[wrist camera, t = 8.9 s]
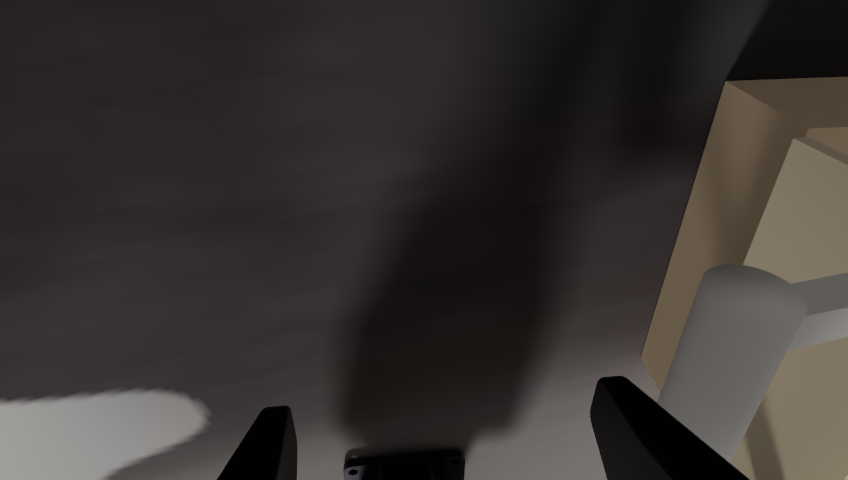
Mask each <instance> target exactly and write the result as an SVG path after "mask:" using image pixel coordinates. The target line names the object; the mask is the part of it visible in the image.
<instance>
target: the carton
mask: <svg viewBox="0 0 848 480" xmlns="http://www.w3.org/2000/svg"><path fill="white" fill-rule="evenodd" d="M799 137H809V138H811V139H813V140H816V141H818V142H820V143H822V144H824V145H826V146H828V147H830V148H832V149H834V150H836V151H839V152H841V153H843V154H845V155H847V156H848V77H825V78H798V79H771V80H743V81H725V84H724V87H723V90H722V94H721V97H720V100H719V103H718V107H717V110H716V113H715V116H714V120H713V123H712V126H711V129H710V133H709V136H708V139H707V142H706V146H705V149H704V152H703V155H702V159H701V162H700V165H699V168H698V172H697V175H696V178H695V181H694V185H693V188H692V191H691V195H690V198H689V201H688V204H687V208H686V211H685V214H684V217H683V221H682V224H681V227H680V230H679V234H678V237H677V240H676V243H675V247H674V250H673V253H672V256H671V260H670V263H669V266H668V269H667V273H666V276H665V279H664V282H663V286H662V289H661V292H660V295H659V299H658V302H657V305H656V308H655V312H654V315H653V318H652V321H651V325H650V328H649V331H648V334H647V338H646V341H645V344H644V348H643V351H642V354H641V359H642V361H643V362H644V364H645V366H646V367H647V369H648V371H649V373H650V374H651V376H652V378H653V379H654V381H655V383H656V384H657V386H658V388H659V389H660V391H661V392H662V389H663V386H664V383H665V381H666V378H667V375H668V372H669V369H670V366H671V364H672V361H673V358H674V355H675V352H676V349H677V347H678V344H679V341H680V338H681V335H682V332H683V330H684V327H685V324H686V321H687V318H688V316H689V313H690V310H691V307H692V304H693V301H694V299H695V296H696V293H697V290H698V287H699V284H700V282H701V279H702V276H703V274H704V273H705V272H706V271H707V270H708V269H710V268H712V267H715V266H719V265H726V264H736V265H743V263H744V261H745V258H746V256H747V253H748V251H749V248H750V246H751V243H752V241H753V238H754V236H755V233H756V231H757V228H758V226H759V223H760V221H761V218H762V216H763V213H764V211H765V208H766V206H767V203H768V201H769V198H770V196H771V193H772V191H773V188H774V186H775V183H776V181H777V178H778V176H779V173H780V171H781V168H782V166H783V163H784V161H785V158H786V156H787V153H788V151H789V148H790V145H791V143H792V140H793V138H799Z"/></svg>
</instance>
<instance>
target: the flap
mask: <svg viewBox="0 0 848 480" xmlns="http://www.w3.org/2000/svg"><path fill="white" fill-rule="evenodd" d="M658 404H659V405H660V406H661V407H663V408H664V409H665V410H666V411H667V412H669V413H670V414H671V415H672V416H673V417H675V418H676V419H677V420H678V421H680V422H681V423H682V424H683V425H684V426H686V427H687V428H688V429H689V430H690V431H692V432H693V433H694V434H695V435H697V436H698V437H699V438H700V439H701V440H703V441H704V442H705V443H706V444H707V445H709V446H710V447H711V448H712V449H714V450H715V451H716V452H717V453H718V454H720V455H721V456H722V457H723V458H724V459H726V460H727V461H728V462H729V463H731V464H732V465H733V466H734V467H735V468H737V469H738V470H739V471H740V472H741V473H743V474H744V475H745V476H746V477H748V478H749V479H750V480H848V156H847V155H845V154H843V153H841V152H839V151H836V150H834V149H832V148H830V147H828V146H826V145H824V144H822V143H820V142H818V141H816V140H813V139H811V138H809V137H799V138H793V140H792V143H791V145H790V148H789V151H788V153H787V156H786V158H785V161H784V163H783V166H782V168H781V171H780V173H779V176H778V178H777V181H776V183H775V186H774V188H773V191H772V193H771V196H770V198H769V201H768V203H767V206H766V208H765V211H764V213H763V216H762V218H761V221H760V223H759V226H758V228H757V231H756V233H755V236H754V238H753V241H752V243H751V246H750V248H749V251H748V253H747V256H746V258H745V261H744V263H743V265H736V264H726V265H719V266H715V267H712V268H710V269H708V270H707V271H706V272H705V273H704V274H703V276H702V279H701V282H700V284H699V287H698V290H697V293H696V296H695V299H694V301H693V304H692V307H691V310H690V313H689V316H688V318H687V321H686V324H685V327H684V330H683V332H682V335H681V338H680V341H679V344H678V347H677V349H676V352H675V355H674V358H673V361H672V364H671V366H670V369H669V372H668V375H667V378H666V381H665V383H664V386H663V389H662V392H661V395H660V397H659V400H658Z"/></svg>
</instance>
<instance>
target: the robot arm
mask: <svg viewBox="0 0 848 480" xmlns="http://www.w3.org/2000/svg"><path fill="white" fill-rule="evenodd" d="M590 417H591V423H592V427H593V430H594V434H595V437H596V441H597V444H598V448H599V451H600V455H601V458H602V462H603V465H604V469H605V473H606V476H607V480H750V479H749V478H748V477H746V476H745V475H744V474H743V473H741V472H740V471H739V470H738V469H737V468H735V467H734V466H733V465H732V464H731V463H729V462H728V461H727V460H726V459H724V458H723V457H722V456H721V455H720V454H718V453H717V452H716V451H715V450H714V449H712V448H711V447H710V446H709V445H707V444H706V443H705V442H704V441H703V440H701V439H700V438H699V437H698V436H697V435H695V434H694V433H693V432H692V431H690V430H689V429H688V428H687V427H686V426H684V425H683V424H682V423H681V422H680V421H678V420H677V419H676V418H675V417H673V416H672V415H671V414H670V413H669V412H667V411H666V410H665V409H664V408H663V407H661V406H660V405H659V404H658V403H656V402H655V401H654V400H653V399H652V398H650V397H649V396H648V395H647V394H645V393H644V392H643V391H642V390H641V389H639V388H638V387H637V386H636V385H635V384H633V383H632V382H631V381H630V380H628V379H627V378H625V377H623V376H612V377H603V378H600V379H599V380H598V382H597V385H596V389H595V393H594V397H593V401H592V405H591V410H590ZM464 467H465V459H464V454H463V452H462V451H460V450H449V451H439V452H428V453H418V454H408V455H398V456H388V457H378V458H368V459H357V460H350V461H348V462H346V463H345V464H344V480H464ZM217 480H297V438H296V433H295V428H294V423H293V418H292V413H291V409H290V408H289V407H288V406H274V407H266V408H264V409H263V410H262V411H261V412H260V414H259V415H258V417H257V418H256V420H255V421H254V423H253V424H252V426H251V428H250V429H249V431H248V432H247V434H246V435H245V437H244V438H243V440H242V441H241V443H240V445H239V446H238V448H237V449H236V451H235V452H234V454H233V455H232V457H231V458H230V460H229V462H228V463H227V465H226V466H225V468H224V469H223V471H222V472H221V474H220V476H219V477H218V479H217Z"/></svg>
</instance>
